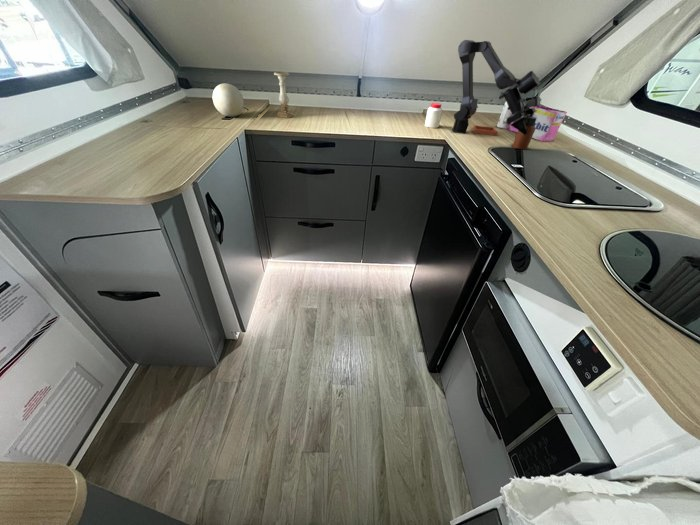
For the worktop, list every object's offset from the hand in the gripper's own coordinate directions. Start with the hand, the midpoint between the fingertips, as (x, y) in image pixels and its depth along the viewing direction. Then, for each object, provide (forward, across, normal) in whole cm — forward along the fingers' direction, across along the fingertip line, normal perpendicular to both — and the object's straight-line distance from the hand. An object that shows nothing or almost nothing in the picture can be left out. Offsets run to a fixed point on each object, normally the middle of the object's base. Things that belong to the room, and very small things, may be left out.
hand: (528, 132), depth 128 cm
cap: (-3, 0, -1) cm, 3 cm away
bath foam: (-11, +33, +21) cm, 40 cm away
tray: (-13, +12, +22) cm, 28 cm away
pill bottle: (-30, -3, +39) cm, 49 cm away
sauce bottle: (+4, 0, +6) cm, 7 cm away
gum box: (0, +29, +9) cm, 30 cm away
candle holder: (-72, -60, +81) cm, 124 cm away
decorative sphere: (-81, -84, +91) cm, 148 cm away
